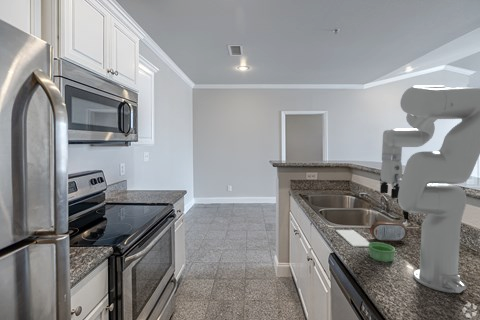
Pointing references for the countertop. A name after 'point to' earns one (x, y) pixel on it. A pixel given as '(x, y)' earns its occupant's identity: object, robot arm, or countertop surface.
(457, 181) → the robot arm
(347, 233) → the mat
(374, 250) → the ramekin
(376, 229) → the tin
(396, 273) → the countertop surface
